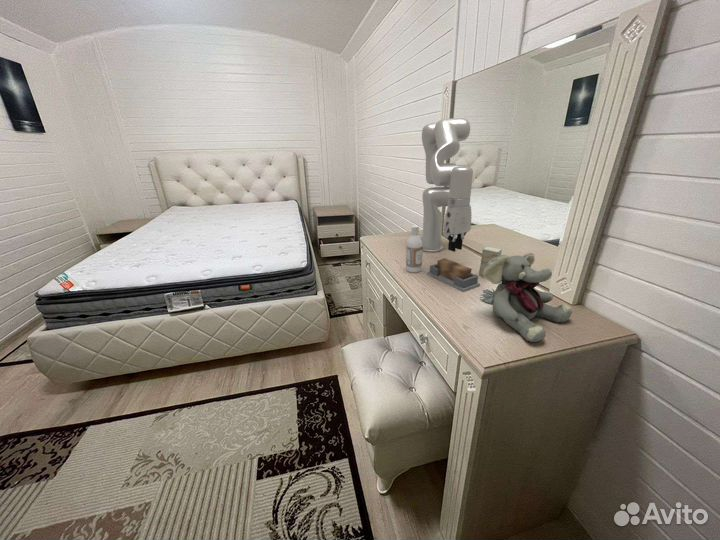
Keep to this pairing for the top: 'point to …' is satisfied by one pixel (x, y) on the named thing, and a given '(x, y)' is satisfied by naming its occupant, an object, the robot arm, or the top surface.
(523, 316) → the plush elephant
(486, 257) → the skincare box
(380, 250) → the top surface
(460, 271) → the slat
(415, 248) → the bath foam
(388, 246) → the top surface
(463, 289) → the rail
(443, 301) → the top surface
